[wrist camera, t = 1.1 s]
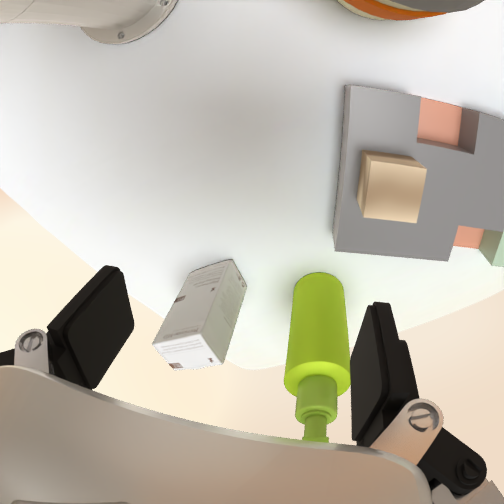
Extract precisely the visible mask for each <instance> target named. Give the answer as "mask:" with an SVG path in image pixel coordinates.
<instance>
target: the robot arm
mask: <svg viewBox="0 0 504 504" xmlns="http://www.w3.org/2000/svg"><path fill="white" fill-rule="evenodd" d="M167 2H168V4H167V5H166V3H167ZM176 2H177V0H0V24H2V23H38V24H58V25H71V26H80V27H81V29H82V30H83V31H84V33H85V34H86V35H87V36H88V37H90V38H91V39H93V40H95V41H98V42H100V43H107V44H121V43H127V42H130V41H133V40H136V39H139V38H140V37H142V36H144V35H146V34H148V33H149V32H150V31H152V30H153V29H154V28H156V27H157V26H158V25H159V24H160V23H161V22H162V21H163V20H164V19H165V18H166V17H167V15H168V14H169V13H170V12H171V10H172V9H173V7H174V5H175V3H176ZM124 35H125V36H124ZM47 329H48V332H47V333H45V332H44V331H42V330H40V329H31V330H28V331H26V332H24V333H23V334H21V335H20V336H19V338H18V339H17V341H16V344H15V349H11V350H8V351H5V352H1V353H0V504H504V497H503V496H502V494H501V493H500V491H499V490H498V488H497V487H496V486H495V484H494V483H493V481H492V480H491V481H490V482H488V480H487V479H486V478H485V477H486V473H487V468H486V464H485V462H484V460H483V458H482V457H481V456H480V455H478V454H477V453H476V452H474V451H473V450H472V449H471V448H469V447H468V446H467V445H465V444H464V443H462V442H461V441H460V440H459V439H457V438H456V437H455V436H453V435H452V434H451V433H449V432H448V431H447V430H445V429H444V428H443V427H442V425H443V414H442V411H441V410H440V408H439V407H438V406H437V405H436V404H435V403H433V402H432V401H429V400H426V399H419V395H418V389H417V384H416V380H415V375H414V371H413V366H412V362H411V358H410V354H409V350H408V346H407V343H406V341H405V340H399V338H398V333H397V329H396V325H395V321H394V317H393V313H392V310H391V306H390V304H389V303H383V302H374V303H373V305H368V307H367V310H366V313H365V316H364V319H363V322H362V325H361V329H360V332H359V335H358V338H357V341H356V344H355V346H354V349H353V352H352V355H351V359H350V381H351V411H352V440H353V441H357V446H355V445H345V444H336V443H326V442H315V441H305V440H297V439H288V438H281V437H274V436H267V435H259V434H254V433H248V432H242V431H236V430H231V429H226V428H221V427H216V426H212V425H207V424H203V423H198V422H194V421H189V420H186V419H182V418H178V417H173V416H170V415H166V414H163V413H159V412H156V411H152V410H149V409H145V408H142V407H139V406H135V405H132V404H129V403H126V402H123V401H120V400H117V399H114V398H112V397H109V396H106V395H103V394H100V393H97V392H95V391H92V389H94V388H96V387H97V385H98V384H99V383H100V381H101V379H102V378H103V376H104V375H105V373H106V371H107V370H108V368H109V367H110V365H111V363H112V362H113V360H114V359H115V357H116V356H117V354H118V353H119V351H120V350H121V348H122V347H123V345H124V343H125V342H126V340H127V339H128V337H129V336H130V334H131V333H132V331H133V329H134V319H133V315H132V311H131V307H130V302H129V298H128V293H127V289H126V284H125V280H124V275H123V273H122V272H121V271H120V269H119V268H118V267H114V266H108V265H105V266H104V267H102V268H101V269H100V270H99V271H98V272H97V273H96V275H95V276H94V277H93V278H92V279H91V280H90V281H89V282H88V283H87V284H86V285H85V286H84V287H83V288H82V289H81V290H80V291H79V292H78V293H77V294H76V295H75V296H74V297H73V299H72V300H71V301H70V302H69V303H68V304H67V305H66V306H65V307H64V308H63V310H62V311H61V312H60V313H59V314H58V315H57V316H56V317H55V318H54V319H53V320H52V322H51V323H50V324H49V325H48V326H47Z"/></svg>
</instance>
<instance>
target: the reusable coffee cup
mask: <svg viewBox="0 0 504 504" xmlns="http://www.w3.org/2000/svg"><path fill="white" fill-rule="evenodd" d="M337 1H338V2H339V3H340V4H342V5H343V6H344V7H345V8H347V9H348V10H350V11H352V12H353V13H355V14H358V15H360V16H362V17H366V18H370V19H376V20H390V19H391V20H412V19H419V18H425V17H432V16H437V15H442V14H446V13H451V12H457V11H463V10H467V9H469V8H471V7H473V6H476V5H478V4H479V3H481V2H483V1H484V0H337Z"/></svg>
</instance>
